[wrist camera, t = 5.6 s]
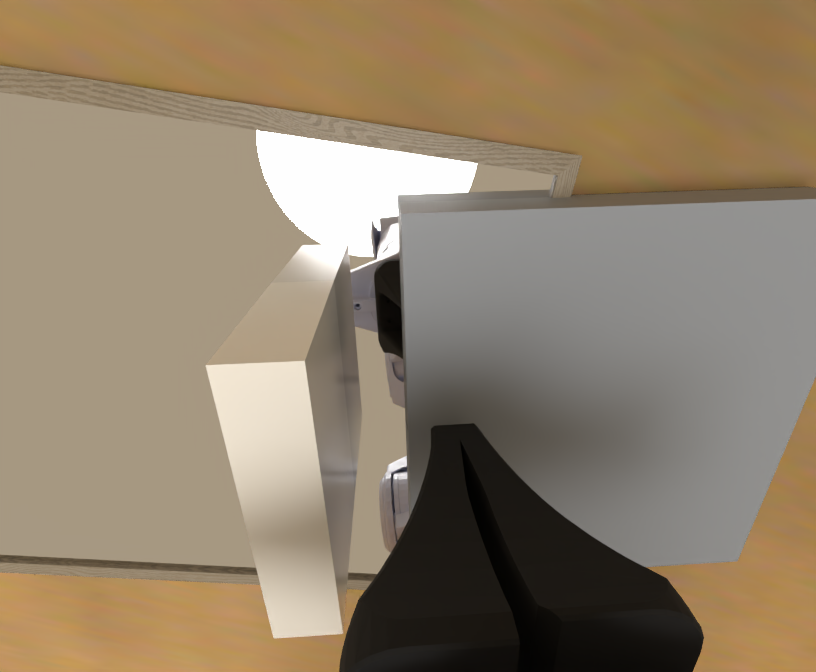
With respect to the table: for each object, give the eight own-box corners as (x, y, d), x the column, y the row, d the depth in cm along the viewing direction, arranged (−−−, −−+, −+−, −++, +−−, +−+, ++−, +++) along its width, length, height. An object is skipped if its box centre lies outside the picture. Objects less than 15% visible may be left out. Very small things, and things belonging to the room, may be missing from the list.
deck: (696, 511, 19) (737, 561, 17) (410, 529, 19) (413, 581, 17) (807, 186, 14) (892, 196, 11) (398, 201, 13) (401, 213, 11)
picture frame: (568, 154, 13) (-513, -14, 11) (582, 156, 12) (-598, -28, 10) (456, 574, 21) (-186, 541, 18) (459, 594, 20) (-216, 562, 17)
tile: (342, 633, 13) (273, 638, 12) (355, 484, 18) (307, 486, 18) (304, 360, 9) (205, 365, 9) (335, 276, 14) (274, 278, 14)
